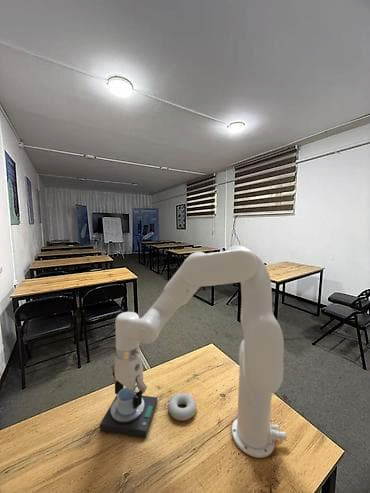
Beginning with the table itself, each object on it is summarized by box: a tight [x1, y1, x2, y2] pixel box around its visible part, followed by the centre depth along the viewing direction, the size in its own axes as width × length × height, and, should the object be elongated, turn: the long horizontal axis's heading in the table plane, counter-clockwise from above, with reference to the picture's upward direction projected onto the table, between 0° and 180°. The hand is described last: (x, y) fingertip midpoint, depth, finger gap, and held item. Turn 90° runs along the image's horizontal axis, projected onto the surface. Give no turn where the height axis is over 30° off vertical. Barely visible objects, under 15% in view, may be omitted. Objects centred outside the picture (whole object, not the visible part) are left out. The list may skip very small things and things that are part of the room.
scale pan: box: [111, 399, 144, 423], centre depth 71 cm, size 11×11×1 cm
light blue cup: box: [116, 386, 139, 415], centre depth 71 cm, size 7×7×4 cm
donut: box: [167, 392, 197, 422], centre depth 74 cm, size 10×4×10 cm
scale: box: [99, 395, 158, 439], centre depth 71 cm, size 15×13×3 cm
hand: (128, 398), depth 71 cm, fingers open, 9 cm apart
